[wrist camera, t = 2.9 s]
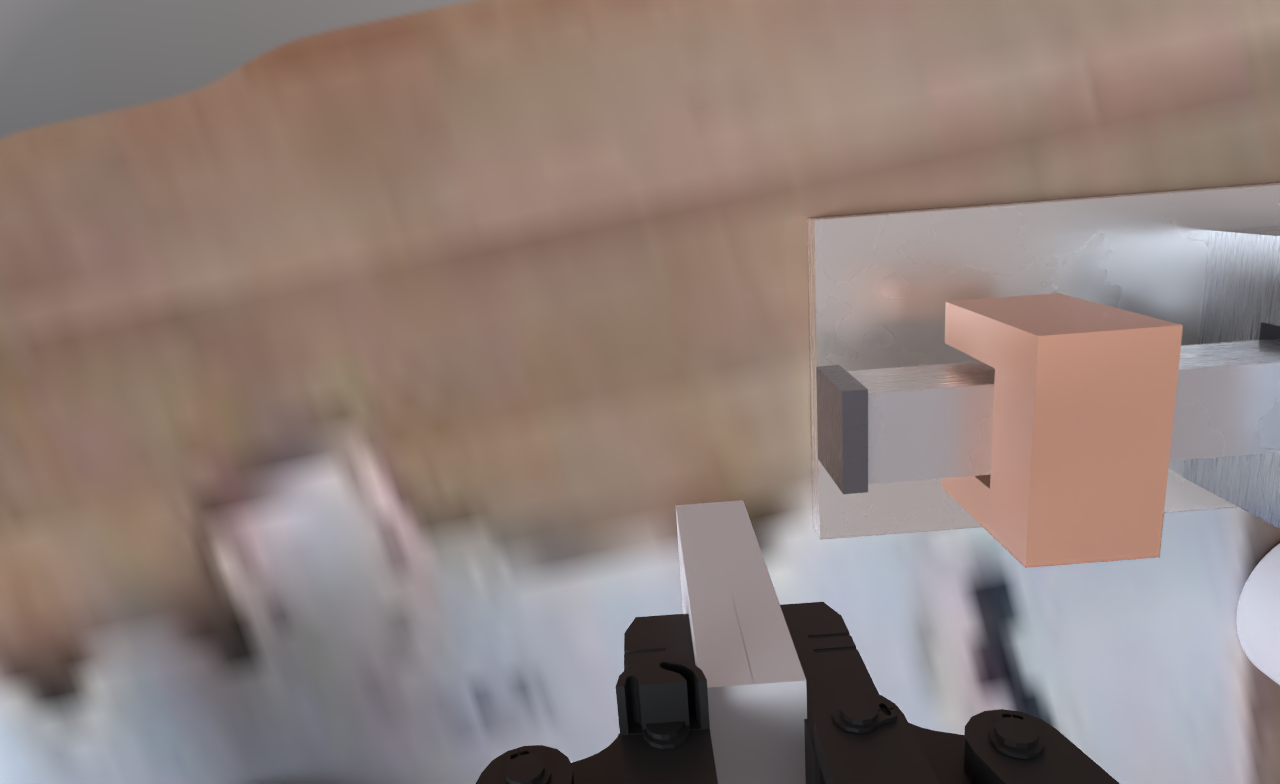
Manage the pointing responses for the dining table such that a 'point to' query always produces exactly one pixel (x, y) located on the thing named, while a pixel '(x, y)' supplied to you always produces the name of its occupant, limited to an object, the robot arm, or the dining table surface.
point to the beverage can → (1262, 615)
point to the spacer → (1071, 426)
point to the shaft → (963, 414)
